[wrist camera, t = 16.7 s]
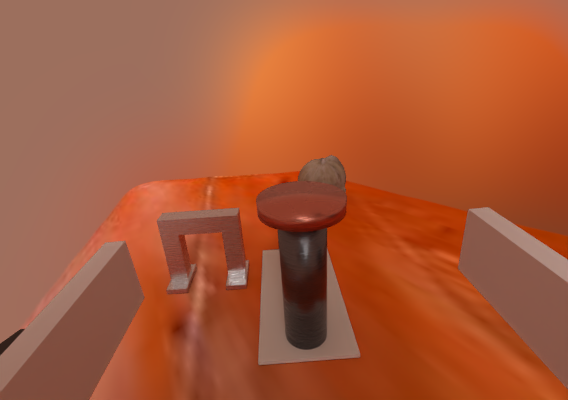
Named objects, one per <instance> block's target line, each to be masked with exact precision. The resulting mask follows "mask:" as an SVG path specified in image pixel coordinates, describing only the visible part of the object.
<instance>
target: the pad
mask: <svg viewBox="0 0 568 400" xmlns="http://www.w3.org/2000/svg"><path fill="white" fill-rule="evenodd" d="M358 357H360V351H359V348H358V345H357V342H356V339H355V336H354V332H353V329H352V326H351V323H350V320H349V316H348V313H347V310H346V307H345V304H344V301H343V297H342V294H341V291H340V288H339V285H338V281H337V278H336V275H335V272H334V269H333V266H332V262H331V259H330V256H329V253H328V250H327V338H326V340H325V342H324V343H323V344H322V345H320V346H319V347H317V348H315V349H310V350H303V349H299V348H296V347H294V346H292V345H291V344H290V343H289V342H288V340H287V338H286V334H285V320H284V307H283V293H282V280H281V266H280V252H279V249H276V250H263V257H262V282H261V306H260V331H259V355H258V364H259V365H266V364H279V363H292V362H305V361H318V360H331V359H345V358H358Z"/></svg>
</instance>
